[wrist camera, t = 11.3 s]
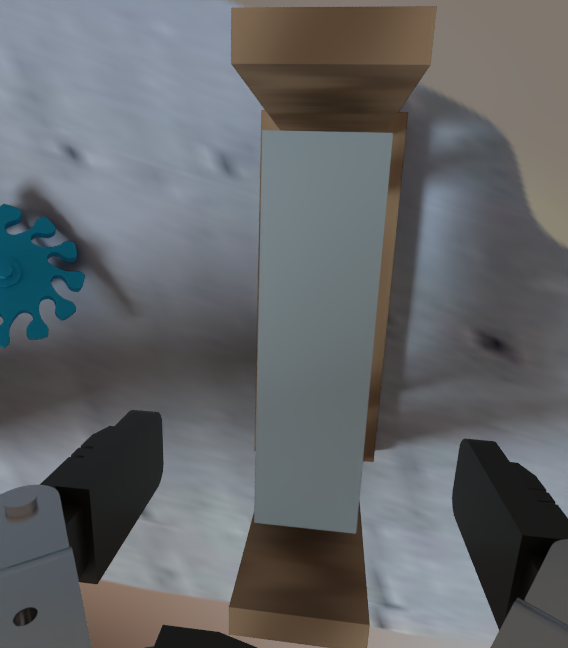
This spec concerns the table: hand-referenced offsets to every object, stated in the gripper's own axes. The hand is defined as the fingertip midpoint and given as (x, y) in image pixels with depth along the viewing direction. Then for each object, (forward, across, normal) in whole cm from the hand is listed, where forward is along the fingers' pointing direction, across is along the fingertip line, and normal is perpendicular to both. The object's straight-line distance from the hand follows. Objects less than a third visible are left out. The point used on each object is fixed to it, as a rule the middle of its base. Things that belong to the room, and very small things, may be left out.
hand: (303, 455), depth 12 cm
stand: (+21, 0, 0) cm, 21 cm away
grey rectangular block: (+12, 0, 0) cm, 12 cm away
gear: (+21, +22, -2) cm, 31 cm away
